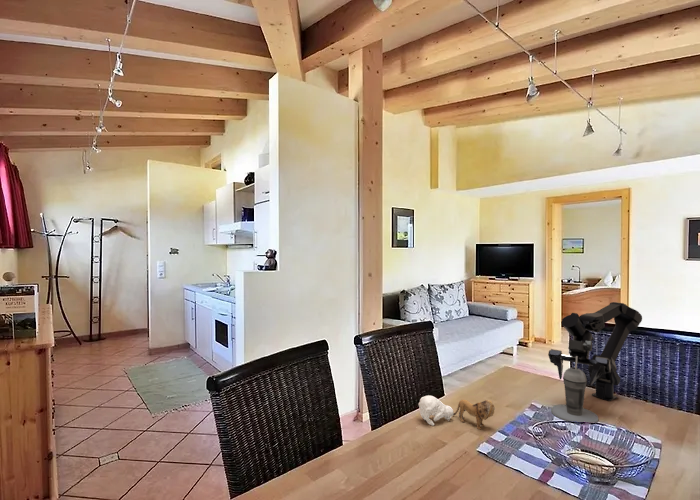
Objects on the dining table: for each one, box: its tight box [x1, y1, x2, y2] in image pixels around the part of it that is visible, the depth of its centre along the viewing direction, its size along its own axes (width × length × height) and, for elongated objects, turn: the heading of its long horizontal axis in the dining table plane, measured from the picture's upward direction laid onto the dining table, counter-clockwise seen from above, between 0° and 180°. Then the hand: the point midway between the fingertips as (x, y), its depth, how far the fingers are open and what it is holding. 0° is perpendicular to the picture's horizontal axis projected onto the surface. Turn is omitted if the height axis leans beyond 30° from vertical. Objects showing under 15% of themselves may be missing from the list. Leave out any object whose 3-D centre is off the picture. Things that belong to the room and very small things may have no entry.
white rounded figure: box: [418, 395, 454, 427], centre depth 126 cm, size 6×8×12 cm
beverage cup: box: [562, 356, 588, 416], centre depth 131 cm, size 7×7×20 cm
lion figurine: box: [453, 399, 496, 430], centre depth 125 cm, size 15×5×9 cm, turn 47°
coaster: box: [550, 404, 599, 423], centre depth 131 cm, size 14×14×1 cm
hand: (575, 381), depth 132 cm, fingers open, 9 cm apart
